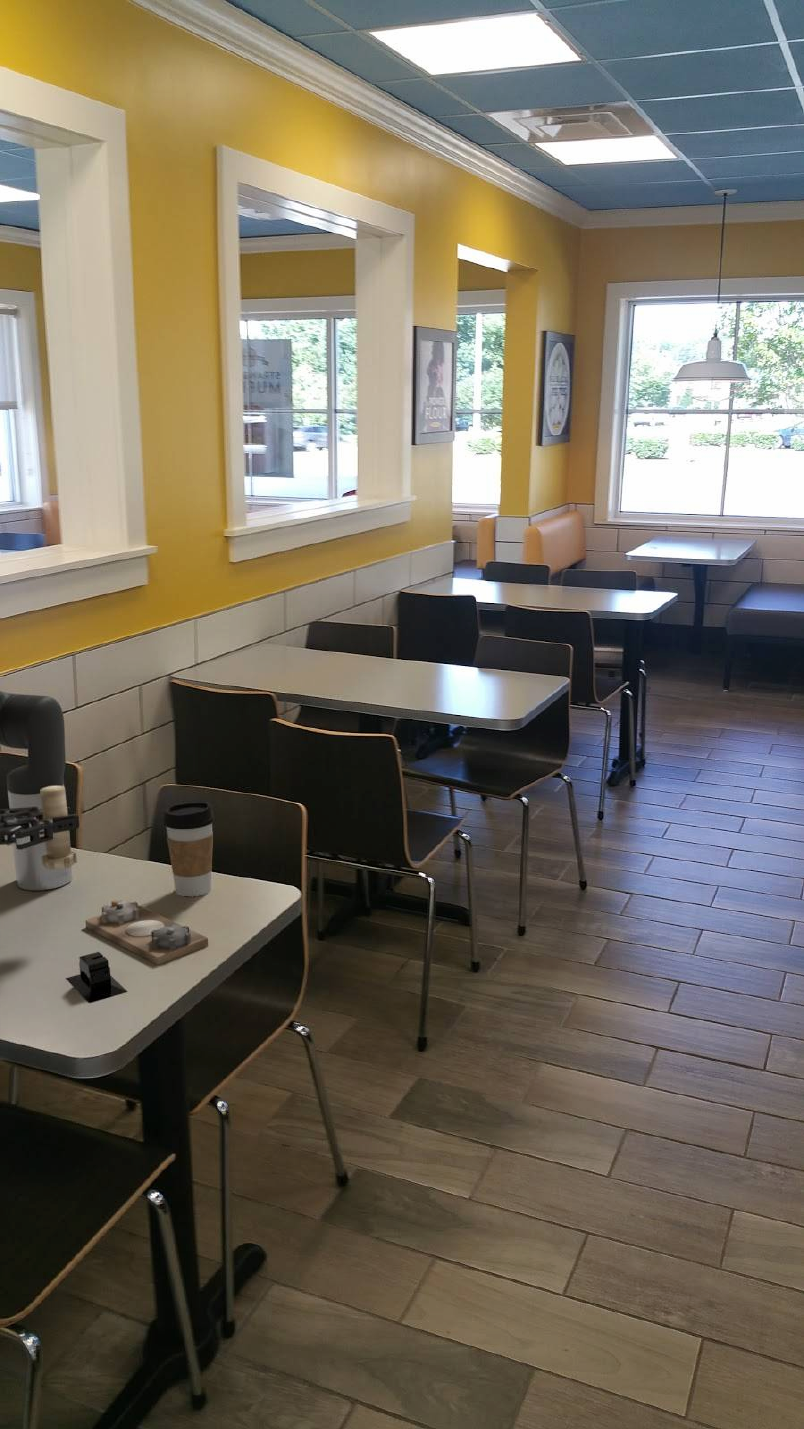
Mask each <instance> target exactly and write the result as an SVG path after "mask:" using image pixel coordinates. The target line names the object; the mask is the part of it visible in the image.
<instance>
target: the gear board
mask: <svg viewBox="0 0 804 1429" xmlns="http://www.w3.org/2000/svg"><path fill="white" fill-rule="evenodd" d="M85 927H86V928H87V929H88V930H90V931H92V932H94V933H95V934H96V933H97V934H98V935H100V936H102V937H103V938H105V939H107V940H109V941H111V942H113V943H115V944H118V945H119V946H121V947H123V948H125V949H127V950H129V951H130V952H132V953H134V954H135V955H138V956H140V957H142V958H143V959H146V960H147V961H149V962H152V963H153V964H155V965H157V966H159V965H161V964H164V963H167V962H169V961H172V960H174V959H177V958H179V957H182V956H185V955H187V954H190V953H193V952H195V951H197V950H200V949H203V948H205V947H208V946H209V938H208V937H207V936H204V935H202V934H200V933H198V932H197V931H194V930H192V929H190V927H189V926H187V925H184V926H183V925H181V924H179V923H177V922H175V921H173V920H171V919H168V918H166V917H164V916H162V915H160V914H158V913H155V912H153V911H152V910H150V909H148V908H145V907H143V906H141V905H139V904H138V902H137V901H133V902H129V901H123V900H113V901H111V902H110V904H107V905H103V906H101V914H100V915H96V916H94V917H91V918H87V919H86V920H85Z"/></svg>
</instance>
